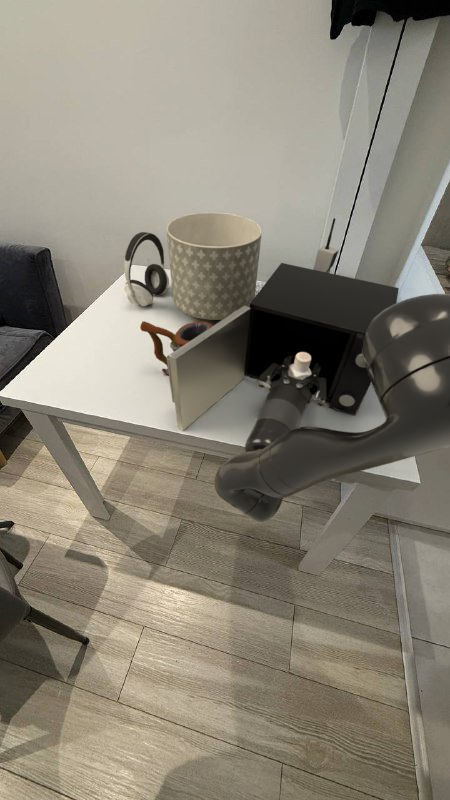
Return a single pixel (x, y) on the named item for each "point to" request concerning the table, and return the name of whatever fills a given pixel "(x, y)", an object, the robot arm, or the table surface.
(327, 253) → the vintage mobile phone
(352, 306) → the microwave
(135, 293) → the headphones
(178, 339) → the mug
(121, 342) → the table surface
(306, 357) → the pepper shaker
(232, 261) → the planter
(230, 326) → the microwave door
